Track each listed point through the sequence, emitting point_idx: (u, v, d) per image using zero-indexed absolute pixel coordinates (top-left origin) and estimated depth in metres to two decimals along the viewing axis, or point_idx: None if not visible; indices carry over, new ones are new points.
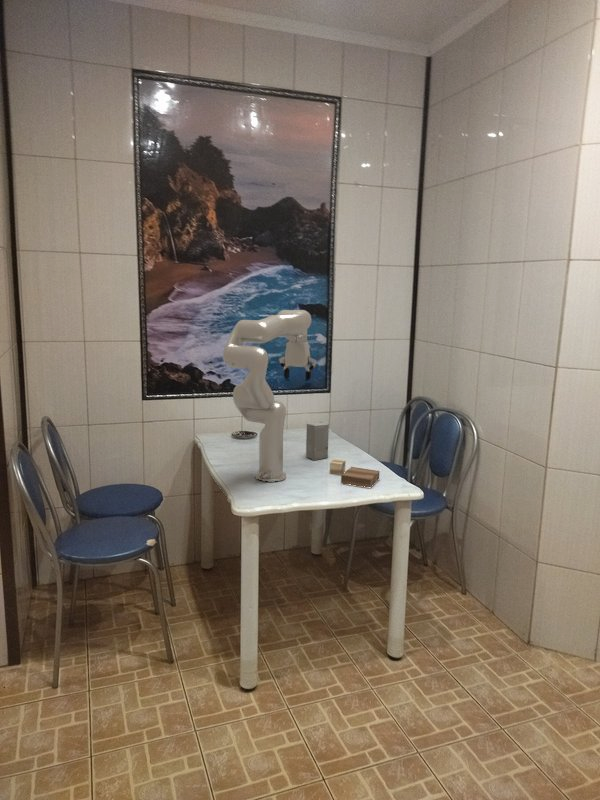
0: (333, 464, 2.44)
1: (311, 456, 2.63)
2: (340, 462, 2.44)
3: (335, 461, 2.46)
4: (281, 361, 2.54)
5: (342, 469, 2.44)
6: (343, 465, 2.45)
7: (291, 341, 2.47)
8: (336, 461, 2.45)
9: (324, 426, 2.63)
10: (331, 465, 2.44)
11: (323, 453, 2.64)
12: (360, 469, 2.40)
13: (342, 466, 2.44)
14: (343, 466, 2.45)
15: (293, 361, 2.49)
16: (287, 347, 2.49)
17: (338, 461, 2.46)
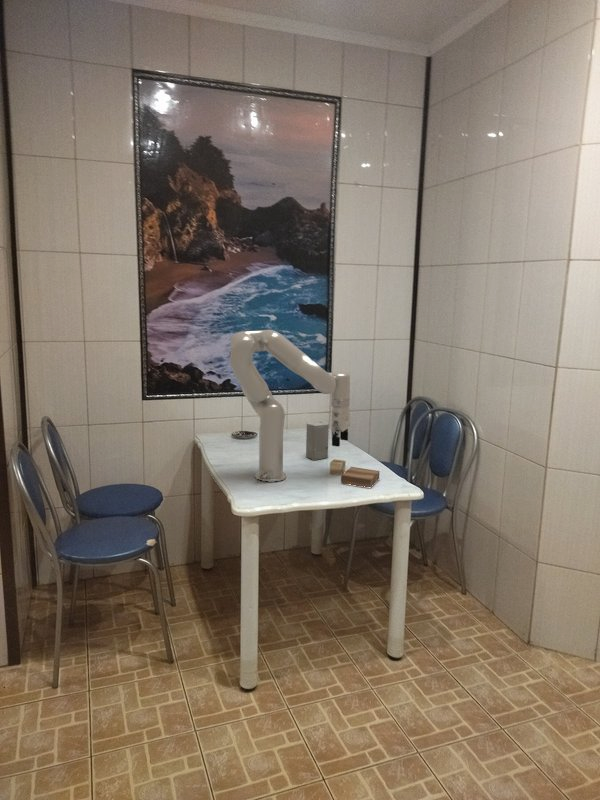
0: (333, 464, 2.44)
1: (311, 456, 2.63)
2: (340, 462, 2.44)
3: (335, 461, 2.46)
4: (334, 430, 2.36)
5: (342, 469, 2.44)
6: (343, 465, 2.45)
7: (346, 405, 2.38)
8: (336, 461, 2.45)
9: (324, 426, 2.63)
10: (331, 465, 2.44)
11: (323, 453, 2.64)
12: (360, 469, 2.40)
13: (342, 466, 2.44)
14: (343, 466, 2.45)
15: (346, 424, 2.41)
16: (342, 413, 2.37)
17: (338, 461, 2.46)
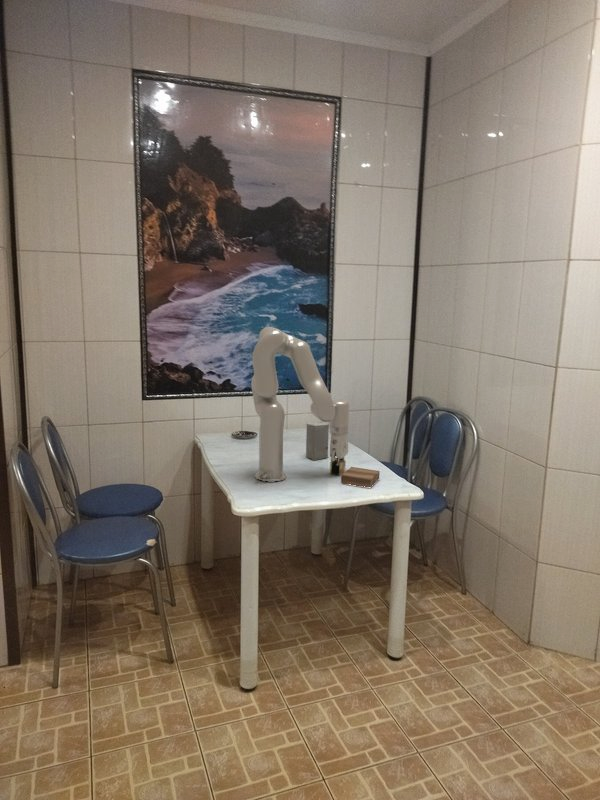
0: None
1: (311, 456, 2.63)
2: (340, 462, 2.44)
3: None
4: (334, 459, 2.39)
5: (342, 469, 2.44)
6: (344, 464, 2.45)
7: (345, 433, 2.40)
8: None
9: (324, 426, 2.63)
10: (331, 465, 2.44)
11: (323, 453, 2.64)
12: (360, 469, 2.40)
13: (342, 466, 2.44)
14: (343, 466, 2.45)
15: (344, 452, 2.43)
16: (341, 440, 2.39)
17: None
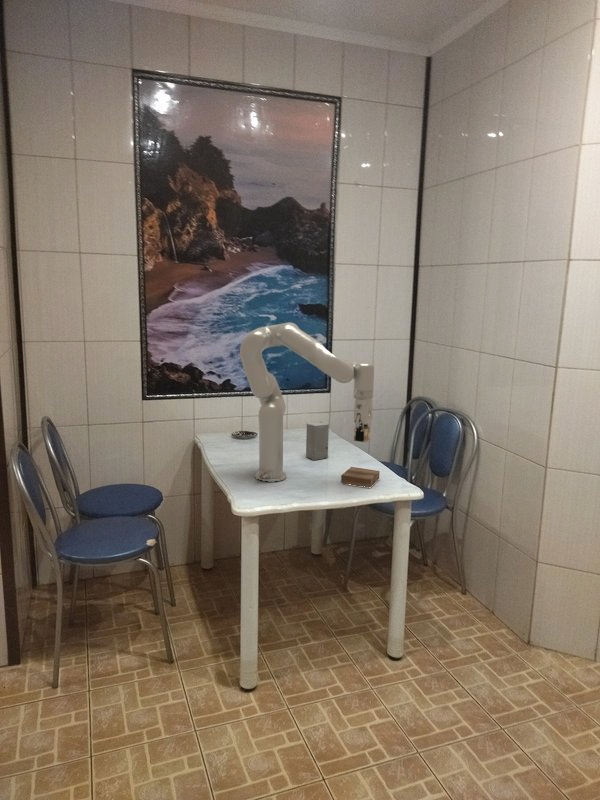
0: None
1: (311, 456, 2.63)
2: (365, 428, 2.31)
3: None
4: (359, 425, 2.26)
5: (367, 435, 2.30)
6: (368, 431, 2.32)
7: (370, 397, 2.27)
8: None
9: (324, 426, 2.63)
10: (355, 431, 2.31)
11: (323, 453, 2.64)
12: (360, 469, 2.40)
13: (367, 432, 2.30)
14: (368, 432, 2.32)
15: (369, 417, 2.29)
16: (366, 405, 2.26)
17: None
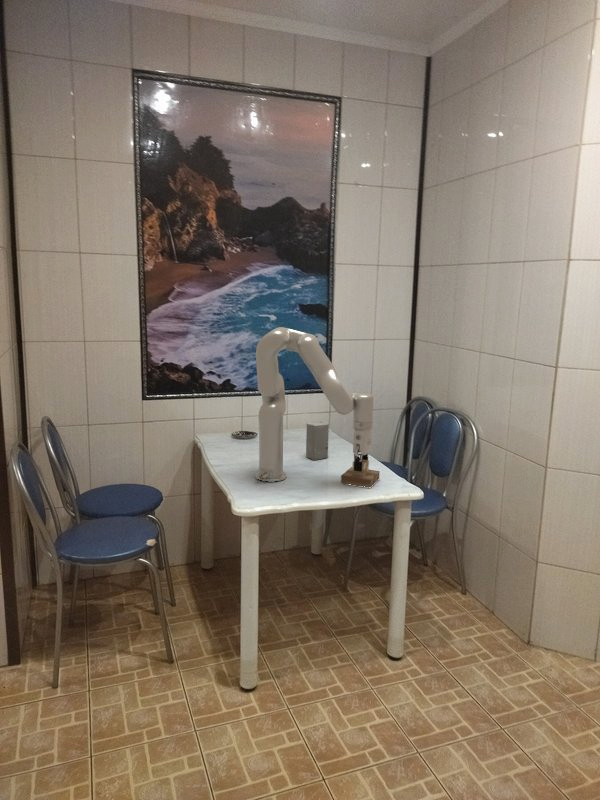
0: None
1: (311, 456, 2.63)
2: (363, 462, 2.33)
3: None
4: (357, 455, 2.28)
5: (365, 469, 2.33)
6: (367, 465, 2.34)
7: (369, 428, 2.29)
8: None
9: (324, 426, 2.63)
10: None
11: (323, 453, 2.64)
12: None
13: (365, 466, 2.33)
14: (366, 466, 2.34)
15: (368, 448, 2.32)
16: (365, 436, 2.28)
17: None
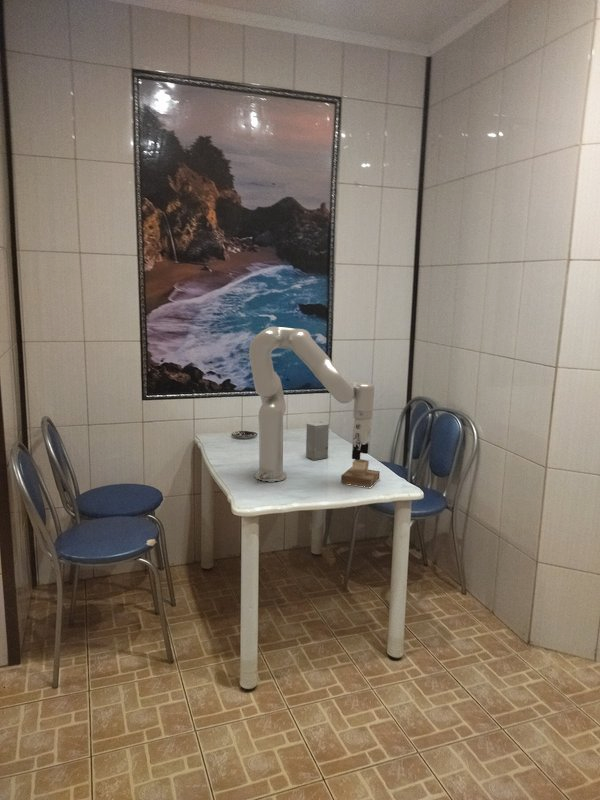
0: (355, 464, 2.33)
1: (311, 456, 2.63)
2: (363, 462, 2.33)
3: (358, 460, 2.35)
4: (356, 443, 2.26)
5: (365, 469, 2.33)
6: (367, 465, 2.34)
7: (369, 417, 2.28)
8: (359, 461, 2.34)
9: (324, 426, 2.63)
10: (354, 465, 2.33)
11: (323, 453, 2.64)
12: None
13: (365, 466, 2.33)
14: (366, 466, 2.34)
15: (367, 437, 2.31)
16: (365, 425, 2.27)
17: (361, 460, 2.35)
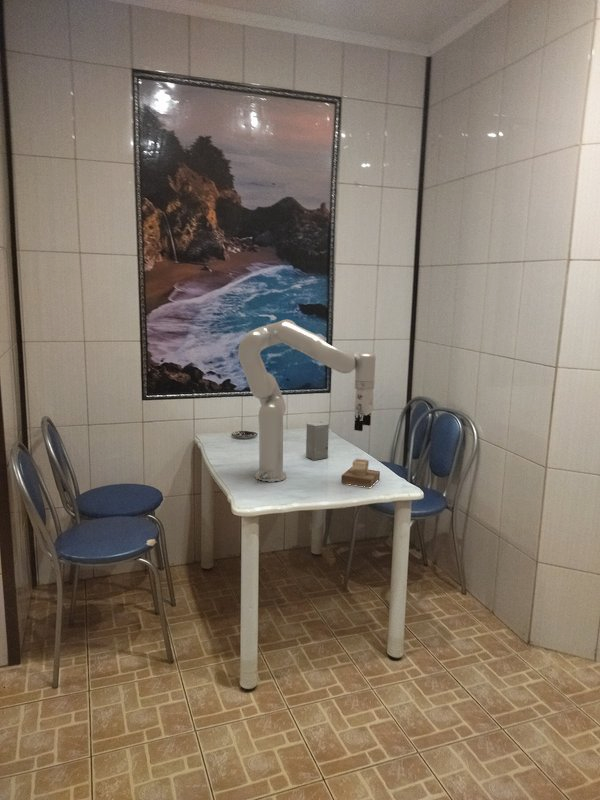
0: (355, 464, 2.33)
1: (311, 456, 2.63)
2: (363, 462, 2.33)
3: (358, 460, 2.35)
4: (358, 413, 2.23)
5: (365, 469, 2.33)
6: (367, 464, 2.34)
7: (371, 387, 2.26)
8: (359, 461, 2.35)
9: (324, 426, 2.63)
10: (354, 465, 2.33)
11: (323, 453, 2.64)
12: None
13: (365, 466, 2.33)
14: (366, 466, 2.34)
15: (369, 408, 2.28)
16: (367, 395, 2.25)
17: (360, 460, 2.35)
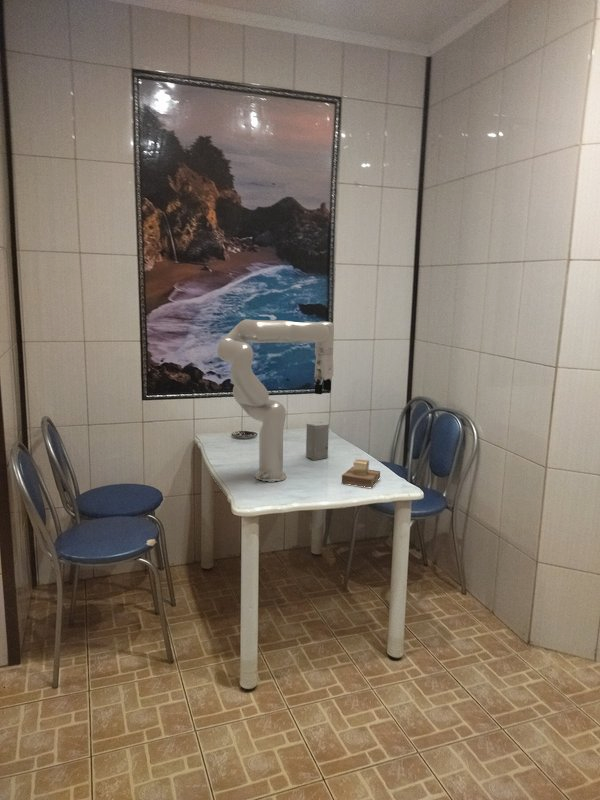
0: (356, 464, 2.33)
1: (311, 456, 2.63)
2: (364, 462, 2.33)
3: (358, 460, 2.35)
4: (317, 377, 2.41)
5: (366, 469, 2.33)
6: (367, 464, 2.34)
7: (330, 354, 2.43)
8: (359, 461, 2.35)
9: (324, 426, 2.63)
10: (355, 465, 2.33)
11: (323, 453, 2.64)
12: None
13: (366, 466, 2.33)
14: (367, 466, 2.34)
15: (329, 373, 2.46)
16: (326, 361, 2.42)
17: (361, 460, 2.35)
